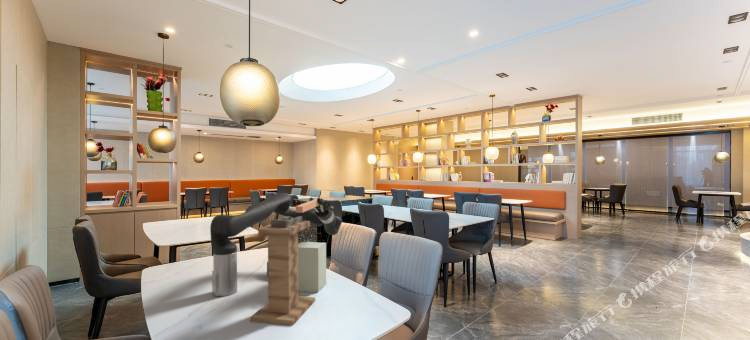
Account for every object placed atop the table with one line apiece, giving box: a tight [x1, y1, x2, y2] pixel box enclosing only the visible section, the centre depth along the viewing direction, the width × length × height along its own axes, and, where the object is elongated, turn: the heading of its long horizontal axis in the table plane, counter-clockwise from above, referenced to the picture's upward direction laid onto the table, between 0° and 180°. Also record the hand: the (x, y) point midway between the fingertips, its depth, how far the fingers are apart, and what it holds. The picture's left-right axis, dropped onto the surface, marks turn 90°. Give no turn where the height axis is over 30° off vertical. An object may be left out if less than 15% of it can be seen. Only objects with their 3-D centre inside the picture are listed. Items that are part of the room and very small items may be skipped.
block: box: [295, 198, 319, 213], centre depth 142 cm, size 22×3×2 cm, turn 169°
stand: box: [249, 216, 316, 326], centre depth 120 cm, size 20×16×34 cm
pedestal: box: [298, 241, 327, 293], centre depth 143 cm, size 10×12×19 cm
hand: (314, 199), depth 147 cm, fingers closed on block, 3 cm apart
